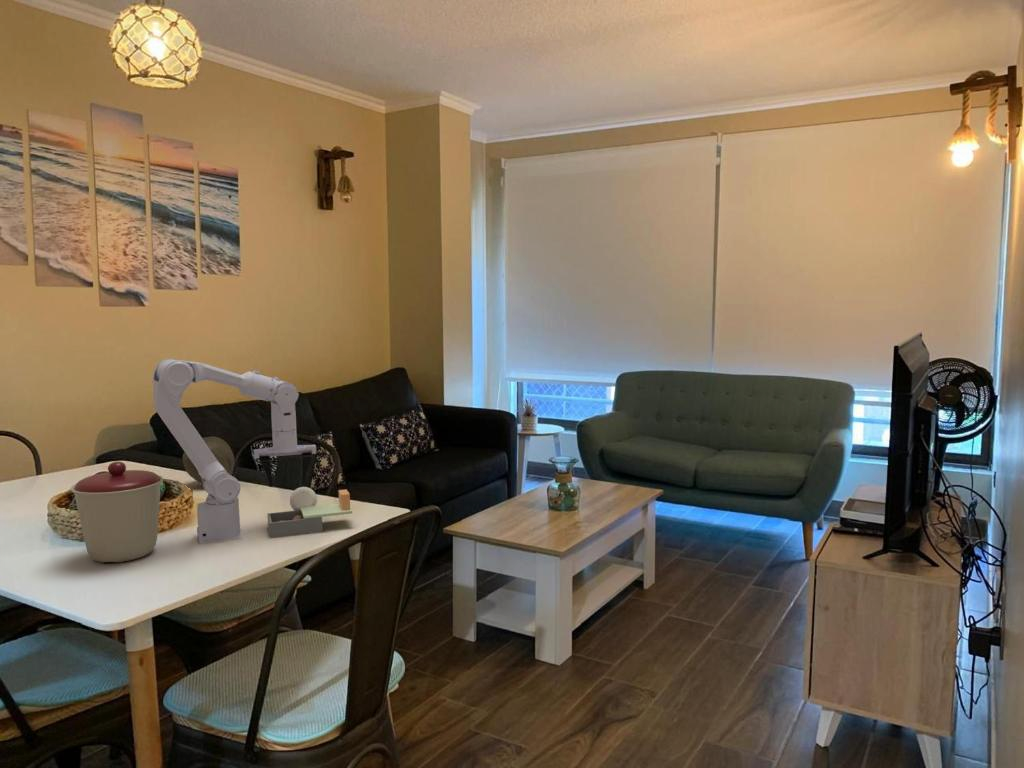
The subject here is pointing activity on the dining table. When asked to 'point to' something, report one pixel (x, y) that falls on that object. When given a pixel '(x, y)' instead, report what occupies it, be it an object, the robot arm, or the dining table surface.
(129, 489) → the canister
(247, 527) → the dining table surface
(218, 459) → the cantaloupe
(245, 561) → the dining table surface
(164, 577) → the dining table surface
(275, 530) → the tub
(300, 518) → the ball
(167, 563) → the dining table surface
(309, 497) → the supplement bottle
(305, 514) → the lid
